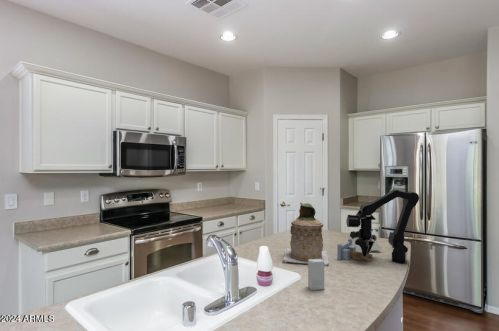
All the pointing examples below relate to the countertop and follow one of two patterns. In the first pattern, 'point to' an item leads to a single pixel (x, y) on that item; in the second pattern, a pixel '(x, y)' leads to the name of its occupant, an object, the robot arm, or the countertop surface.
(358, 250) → the pale grey slotted block
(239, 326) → the countertop surface
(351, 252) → the rail
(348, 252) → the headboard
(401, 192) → the robot arm
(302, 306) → the countertop surface
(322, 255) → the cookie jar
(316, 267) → the skincare box
